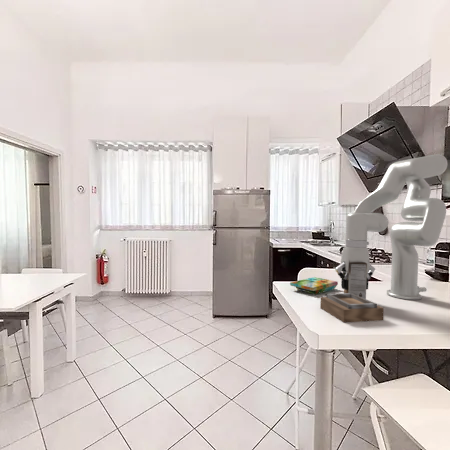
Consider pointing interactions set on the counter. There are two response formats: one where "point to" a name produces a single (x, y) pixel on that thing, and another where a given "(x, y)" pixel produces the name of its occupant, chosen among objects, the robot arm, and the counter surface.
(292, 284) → the puzzle game
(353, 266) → the coffee box
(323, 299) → the plinth
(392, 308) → the counter surface
